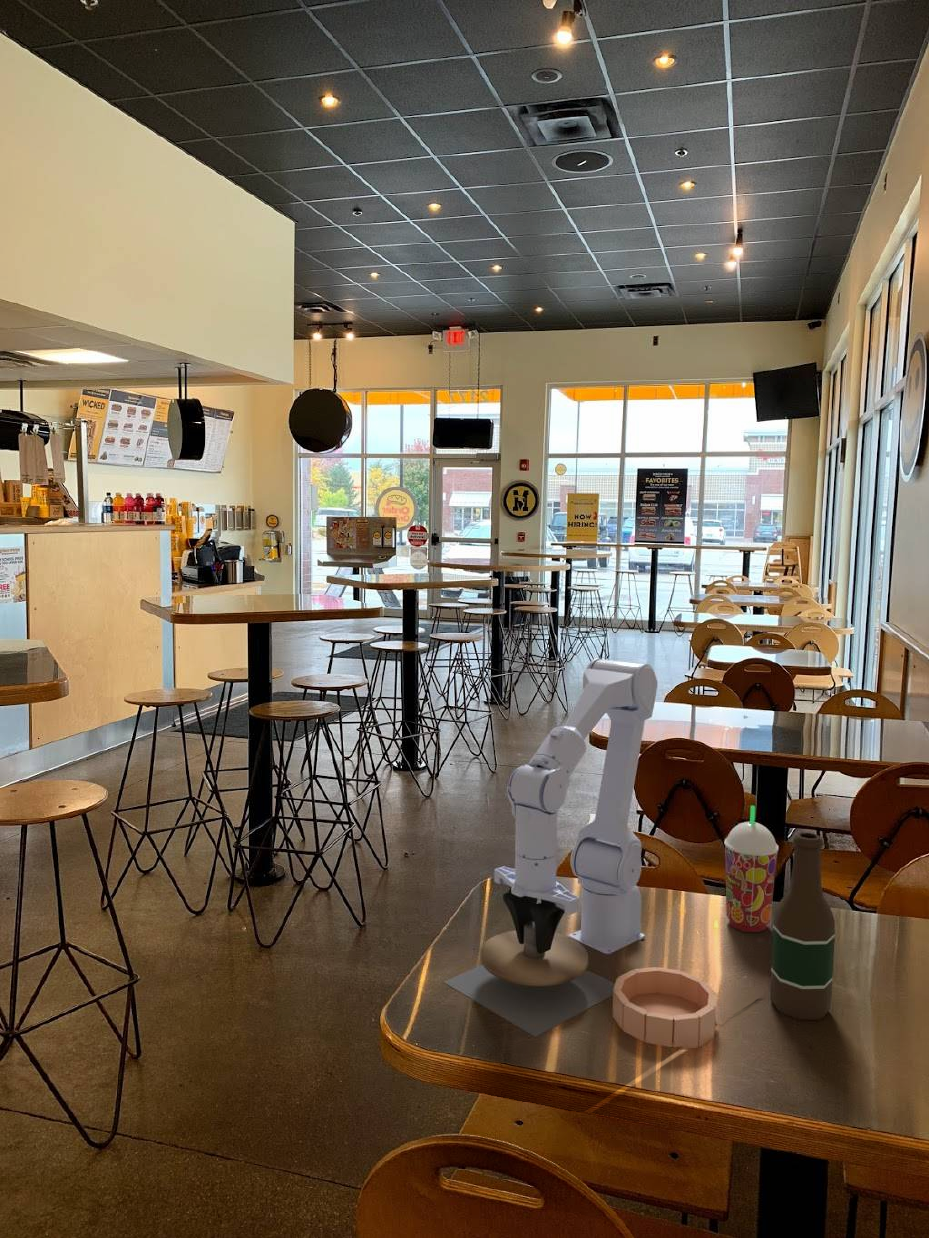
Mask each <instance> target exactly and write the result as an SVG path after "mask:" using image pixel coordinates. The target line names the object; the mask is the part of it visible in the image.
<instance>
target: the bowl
mask: <svg viewBox="0 0 929 1238" xmlns="http://www.w3.org/2000/svg"><path fill="white" fill-rule="evenodd" d="M717 995H718V994H717V992H716V991H715V990H714V989H713V988H712V987H711V986H710V985H709V983H708V982H707V981H704V979H703V978H702V979H701V978H700V977H697V976H695V975H692V974H690V973H688V972H686V971H684V970H683V971H682V970H678V969H672V968H665V967H660V966H657V967H656V966H653V967H652V966H651V967H641V968H633V969H631V970H629V971H627V972H625V973H623V974H621V975H619V976H618V977H617V978H616V980H615V986H614V989H613V996H612V1017H613V1019H614V1020H615V1022H616V1023H617V1025H618V1026H619V1028H620V1029H621V1030H623V1032H625V1033H626V1034H629V1035H630V1036H632V1037H634V1038H636V1039H638V1040H640V1041H641V1042H645V1043H646V1044H652V1045H658V1046H662V1047H668V1048H672V1047H673V1048H679V1049H678V1051H682V1050H683V1051H684V1050H691V1049H697V1048H700V1047H703V1046H704V1045H705V1044H707V1043H709V1042H710V1041H711V1040H713V1039H714V1038H715V1036H716V1023H717V999H718V997H717Z"/></svg>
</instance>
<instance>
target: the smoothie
mask: <svg viewBox="0 0 929 1238" xmlns="http://www.w3.org/2000/svg"><path fill="white" fill-rule="evenodd" d="M755 815H756V806H754V805H750V816H749V817H750V818H749V821H744V822H741V823H738V824H737V825H735V826H734V827H733V828H731V830H730V832H729V833H728V835H727V837H726V838H725V839H724V841H723V842H724V845H725V846H724V862H725V863H724V864H725V872H724V873H725V897H726V898H725V902H726V903H725V906H726V908H725V909H726V912H725V913H726V917H727V919H728V920H729V921H728V922H729V924H730V926H731V927H733V928H734V929H736V930H738V931H741V932H744V933H761V932H763V931H765V930H766V929H767V925H768V924H770V922H771V914H772V913H771V912H772V905H773V896H774V887H775V879H776V873H777V872H776V869H777V862H778V852H779V845H778V844H777V843H776V839H775V836H774V835H773V834H772V832H771V831H770V830H769V829H768V828H767V827H766V826H764V825H763V824H761V823H759V822H756V821H755V817H756V816H755Z"/></svg>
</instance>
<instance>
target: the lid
mask: <svg viewBox="0 0 929 1238" xmlns="http://www.w3.org/2000/svg"><path fill="white" fill-rule="evenodd" d="M480 962H481V965H483V966H484V968H485V969H486V970H487V971H488V972H490V973H491V974H493V975H494V976H496V977H498V978H500V979H503V980H505V981H508V982H512V983H516V984H520V985H527V986H552V985H558V984H563V983H567V982H570V981H572V980H574V979H576V978H578V977H580V976H581V975H582V974H583V973H584V972H585V971H586V970H588V966H589V954H588V951H587V949H586V948H585V947H584V946H583V945H582V943H581V942H579V941H577V940H574V939H572V938H570V937H569V936H566V935H565V934H561V933H558V932H555V935H554V938H553V941H552V945H551V949H550V950H548V951H546V952H544V953H542V954H540V953H538V952H537V948H536V930H535V924H534V921H531V922H527V923H525V924H524V944H520V943H519V941H518V937H517V933H516V929H514V930H509V931H505V932H502V933H499V934H496V935H494V936H491V937H490V938H488V939H487V940H486V941H485V942H484V943H483V944H482V945H481V949H480Z"/></svg>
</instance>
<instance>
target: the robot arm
mask: <svg viewBox="0 0 929 1238" xmlns="http://www.w3.org/2000/svg"><path fill="white" fill-rule="evenodd" d="M658 683H659V682H658V679H657V676H656V673H655V670H654V668H653V667H652V666H651V665H650V664H648V663H636V662H635V663H634V662H627V661H618V660H611V659H609V660H608V659H603V658H600V657H594V659H592V660H591V661H590V662H589V663H588V665H587V667H586V669H585V671H584V672H583V676H582V690H583V691H582V693H581V694H580V695H579V697H578V700H577V701H576V703H575V705H574V707H573V708H572V711H571V712H570V714H569V716H568V717H567V719H566V721H565V723H564V725H563V726H561V725H560V726H556V727H553V728H552V729H551V730H550V732H549V733H548V734H547V736H546V737H545V739H544V740H543V742H542V743H541V745H540V747H539V748H538V749H537V751H536V752H535V754H534V755H533V756H532V757H531V759H530V761H529V762H528V763H527V764H523V765H521V766H519V767H517V768H515V769H514V770H513V772H512V773H511V775H510V778H509V782H508V786H507V787H506V796H507V799H508V801H509V803H510V805H511V815H512V817H513V818H514V819H515V835H514V836H515V837H514V839H515V840H514V841H515V842H514V844H515V845H514V846H515V847H514V850H515V851H514V856H515V857H514V858H515V859H514V868H510V867H507V866H505V865H503V866H501V867H497V868H495V869H494V873H493V875H494V883H495V884H498V885H501V884H504V885H506V886H508V887H509V890H508V892H506V893H503V895H502V900H503V902H504V903H505V906H506V907H507V909H508V911H509V913H510V916H511V918H512V921H513V924H514V928H515V929H514V930H516V933H517V937H518V941H519V943H520V944H524V924H525V923H527V922H531V921H534V924H535V930H536V948H537V952H538V953H540V954H542V953H544V952H546V951H548V950H550V949H551V945H552V941H553V938H554V935H555V933H556V932H557V931H556V930H557V929H558V926H559V924H560V922H561V919H562V918H563V916H564V914H567V915H569V916H570V915H573V914H575V913H579V911H580V912H581V915H580V917H581V919H580V929H579V930H577V931H575V932H573V933H570V934H569V935H568V937H569V938H572V939H573V940H575V941H577V942H578V943H580V944H583V945H585V946H588V947H589V948H592V949H595V950H597V951H598V952H601V953H603V954H605V955H611V954H612V953H614V952H616V951H619V950H621V949H623V948H625V947H626V946H629V945H631V944H633V943H635V942H637V941H641V940H643V939H645V937H646V936H645V934H644V933H642V932H641V929H642V928H641V925H642V924H641V923H642V922H641V921H642V919H641V918H642V895H641V892H640V890H639V887H638V885H637V883H638V882H639V880H640V877H641V874H642V864H643V863H642V857H641V856H642V842H641V840H640V839H639V837H637V835H636V834H635V833H634V832H633V831H632V830H631V828H630V827H629V825H628V823H629V817H630V812H631V806H632V801H633V800H632V799H633V795H634V794H633V793H634V787H635V782H636V775H637V771H638V770H637V769H638V765H639V758H640V751H641V748H642V747H641V745H642V740H643V733H644V728H645V721H646V720H649V719H650V718H652V717H653V712H654V708H655V702H656V696H657V689H658ZM605 714H607V716H608V718H609V720H610V729H609V735H608V742H607V746H606V752H605V758H604V764H603V769H602V776H601V782H600V786H599V787H600V788H599V792H598V793H599V794H598V799H597V805H596V811H595V814H596V816H595V820H594V821H593V822H591V823H590V824H588V825H587V824H586V825H584V826H582V827H581V828H580V829H579V830H578V835H577V838H576V840H575V844H574V846H573V848H572V850H571V853H570V867H571V871H572V873H573V875H574V876H575V877H577V884H579V885H581V899H580V897H579V896H578V895H575V894H573V893H572V892H570V890H568V889H567V888H566V887H564V886H563V885H562V884H560V883H559V882H558V881H557V860H558V859H557V857H558V856H557V853H558V852H557V851H558V849H557V848H558V843H557V842H558V841H557V840H558V811H559V810H560V808H561V807H562V806H564V804H565V801H566V797H567V794H568V789H569V787H570V783H571V780H570V777H571V775H572V774H573V772H574V771H575V769H576V767H577V766H578V764H579V763H580V762H581V759H582V758H583V757H584V755H585V753H586V751H587V745H586V741H585V740H586V738H587V737H588V735H590V733H591V732H592V730H593V729H594V728H595V727H596V725H598V723H599V722H600V721H601V719H602V718H603V717H604V716H605ZM597 839H600V840H604V841H608V842H611V843H615V844H617V845H619V846H620V847H619V846H615V845H611V844H608V843H604V842H600V841H596V840H597ZM538 900H540V902H539V903H538ZM580 900H581V901H580ZM580 902H581V905H580ZM580 906H581V908H580ZM580 909H581V910H580Z"/></svg>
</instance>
